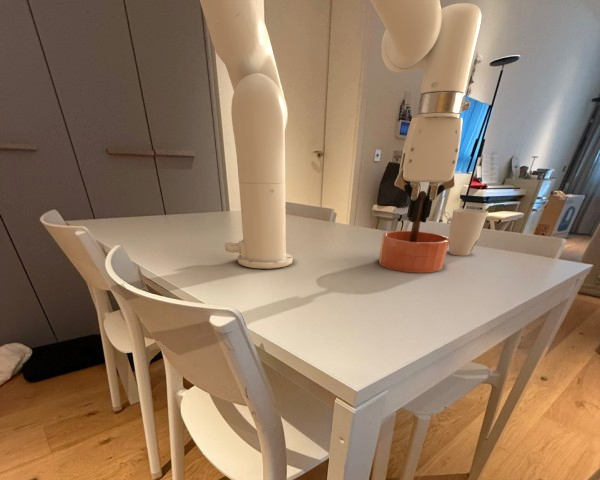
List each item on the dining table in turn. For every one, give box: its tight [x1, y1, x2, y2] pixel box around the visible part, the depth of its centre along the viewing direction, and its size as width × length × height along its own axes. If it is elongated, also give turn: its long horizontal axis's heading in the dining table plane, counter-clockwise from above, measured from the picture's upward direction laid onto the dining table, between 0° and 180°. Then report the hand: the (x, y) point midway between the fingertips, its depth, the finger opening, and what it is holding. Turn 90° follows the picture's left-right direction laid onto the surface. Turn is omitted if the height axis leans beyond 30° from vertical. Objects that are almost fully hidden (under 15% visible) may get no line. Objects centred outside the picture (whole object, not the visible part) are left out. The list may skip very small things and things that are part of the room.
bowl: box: [378, 230, 449, 274], centre depth 77 cm, size 14×14×6 cm
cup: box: [448, 208, 489, 257], centre depth 86 cm, size 8×8×10 cm
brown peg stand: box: [409, 190, 427, 242], centre depth 72 cm, size 5×5×13 cm
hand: (417, 220), depth 72 cm, fingers closed on brown peg stand
